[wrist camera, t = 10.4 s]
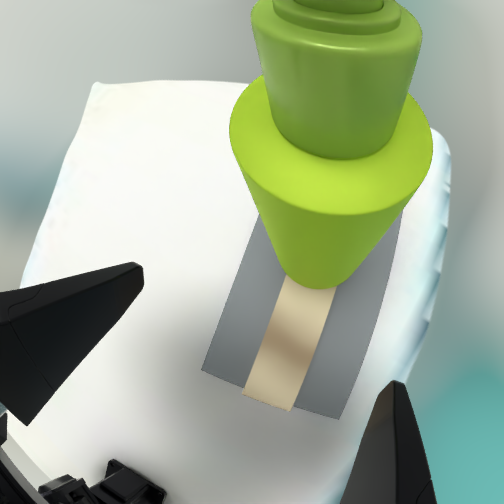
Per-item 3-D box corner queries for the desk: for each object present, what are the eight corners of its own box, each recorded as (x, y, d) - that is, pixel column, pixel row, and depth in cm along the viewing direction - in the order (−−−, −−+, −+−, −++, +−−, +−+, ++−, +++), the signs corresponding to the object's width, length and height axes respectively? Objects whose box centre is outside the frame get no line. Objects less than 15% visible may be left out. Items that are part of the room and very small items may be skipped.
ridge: (291, 405, 19) (290, 411, 17) (246, 389, 19) (241, 394, 18) (366, 164, 22) (370, 153, 21) (327, 153, 23) (328, 141, 21)
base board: (337, 416, 18) (338, 419, 18) (204, 368, 21) (201, 369, 20) (405, 181, 22) (407, 177, 21) (286, 148, 25) (286, 143, 24)
